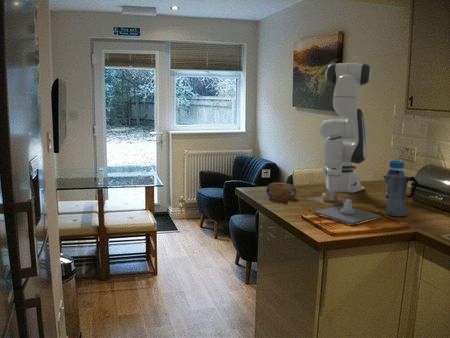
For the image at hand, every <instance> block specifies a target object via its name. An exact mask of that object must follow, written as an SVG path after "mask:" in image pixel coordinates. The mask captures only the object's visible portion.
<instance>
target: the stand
mask: <svg viewBox="0 0 450 338" xmlns="http://www.w3.org/2000/svg"><path fill="white" fill-rule="evenodd" d="M327 193H328V195H330V191H328V190H327ZM307 200H309V201H312V202H316V203H319V204H323V205H327V206H330V207H336V206H338V205H339V206H341V205H344V203H345V200H346V199H345V198H341V197H337V202H323V200H322V195H320V196H315V197H308V198H307ZM353 202H354V201H352V200H351V203H353Z"/></svg>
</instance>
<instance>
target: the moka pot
mask: <svg viewBox="0 0 450 338" xmlns="http://www.w3.org/2000/svg"><path fill="white" fill-rule="evenodd" d="M404 175H405V174H404ZM404 175H400V174H399V171H398V170H397V171H396V174H393V175H387V174H386V175H383V176H382V177H383V179H384V181H385V184H386V185H387V190H388V201H387V200H386V201H387V203H386V208H385V215H387V216H389V217H391V216H392V217H407V207H406V206H407V205H406V198H407V199H411V198H413V196H414V194H415V191H416V189H417V187H418V184H419V182H418V180H417V179H416V178H415V176H407V175H405V176H404ZM409 182H414V184H413V187H412V188H411V189H412V190H411V192H410V194H409V195H407V190H408V183H409Z"/></svg>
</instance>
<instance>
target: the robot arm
mask: <svg viewBox="0 0 450 338" xmlns="http://www.w3.org/2000/svg"><path fill="white" fill-rule="evenodd" d="M324 74H325V79H326V82H327V83H328V84H329V85H332V86H334V90H333V99H332V108H333V110H334V112H335V113H336V114H337V115H339V116H340V117H342V118H344V119H339V118H337V119H336V118H331V119H325V120H323V121H322V122H321V123H320V127H319V133H320V135H321V136H322V138H324V139H325V143H324V149H323V156H324V158H323V163H322V164H323V165H322V173H324V174H325V187H326V190H327V192H328V191H330V200H333V199H334V194H335V193H336V192H338V193H356V192H359V191H363V190H365V186H362V185H361V178H360V177H359V176H358V175H357V174H356V173H355V172H354V170H356V169H357V166H356V165H354V164H358V165H359V164H361V163H363V162H364V161H366V159H367V156H368V148H367V142H366V138H367V136H368V135H369V130H370V129H369V125H368V123H367V122H366V121H365V120H364V119H365V118H364V114H363V111H362V109H360V108H359V106H358V97H359V85H360V87H361V86H364V85H367V84H368V83H369V81H370V80H371V78H372V69H371V66H370V65H369V64H367V63H363V62H362V63H359V62H358V63H357V62H339V63H337V62H333V63H329V64H328V66H327V68H326V70H325V73H324ZM344 140H345V141H344ZM352 141H353V142H352Z"/></svg>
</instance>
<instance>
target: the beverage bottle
mask: <svg viewBox="0 0 450 338" xmlns="http://www.w3.org/2000/svg"><path fill="white" fill-rule="evenodd" d="M389 168H390V169H388V172H387V173H386V175H393V174H396V171H397V170H398V171H399V174H400V175H404V176H406V175H405V172H404V170H403V169H404V168H405V162H404V161H402V160H390V161H389ZM385 187H386V188H385V196H384V199H385V200H386V201H388V190H387V184H386V186H385Z"/></svg>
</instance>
